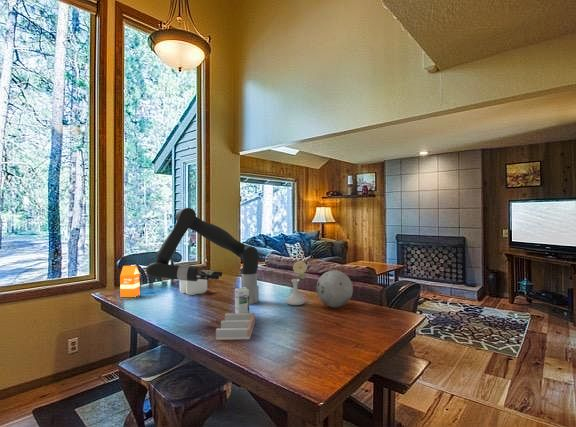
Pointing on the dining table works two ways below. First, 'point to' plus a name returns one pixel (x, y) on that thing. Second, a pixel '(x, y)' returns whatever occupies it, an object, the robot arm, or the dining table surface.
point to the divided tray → (236, 326)
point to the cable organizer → (193, 286)
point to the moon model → (334, 288)
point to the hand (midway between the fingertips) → (220, 275)
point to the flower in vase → (296, 297)
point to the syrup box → (242, 300)
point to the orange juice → (129, 282)
